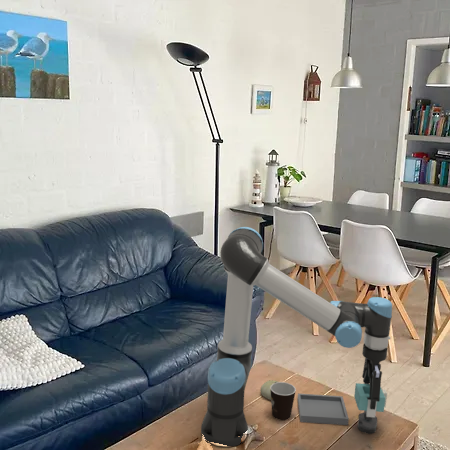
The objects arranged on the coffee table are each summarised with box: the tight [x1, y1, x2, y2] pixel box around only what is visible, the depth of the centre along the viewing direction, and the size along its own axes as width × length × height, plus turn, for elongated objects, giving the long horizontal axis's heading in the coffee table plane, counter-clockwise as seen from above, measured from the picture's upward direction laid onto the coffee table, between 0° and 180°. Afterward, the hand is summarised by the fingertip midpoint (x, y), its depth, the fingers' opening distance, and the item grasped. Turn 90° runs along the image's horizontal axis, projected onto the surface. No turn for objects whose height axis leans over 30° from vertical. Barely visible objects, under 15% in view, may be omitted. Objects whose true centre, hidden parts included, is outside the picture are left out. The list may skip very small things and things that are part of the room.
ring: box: [353, 382, 388, 413], centre depth 174 cm, size 9×8×5 cm
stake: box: [357, 410, 378, 435], centre depth 175 cm, size 6×6×11 cm
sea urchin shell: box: [259, 380, 279, 401], centre depth 194 cm, size 9×8×8 cm
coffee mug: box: [270, 381, 297, 421], centre depth 183 cm, size 12×9×10 cm
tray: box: [297, 393, 350, 426], centre depth 185 cm, size 16×14×2 cm
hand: (368, 408), depth 175 cm, fingers closed on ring, 8 cm apart
